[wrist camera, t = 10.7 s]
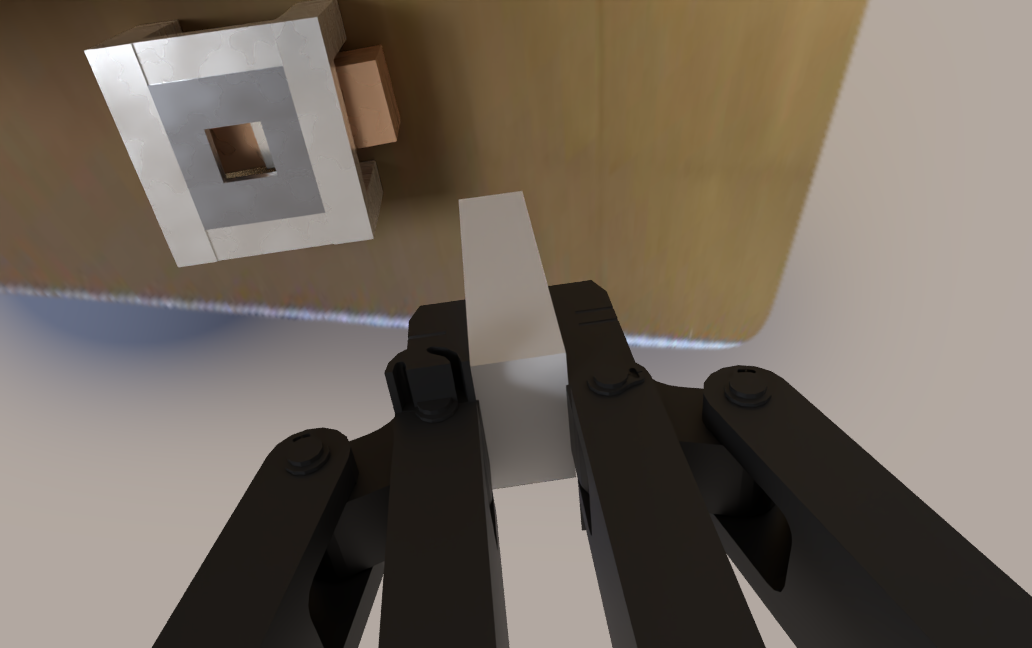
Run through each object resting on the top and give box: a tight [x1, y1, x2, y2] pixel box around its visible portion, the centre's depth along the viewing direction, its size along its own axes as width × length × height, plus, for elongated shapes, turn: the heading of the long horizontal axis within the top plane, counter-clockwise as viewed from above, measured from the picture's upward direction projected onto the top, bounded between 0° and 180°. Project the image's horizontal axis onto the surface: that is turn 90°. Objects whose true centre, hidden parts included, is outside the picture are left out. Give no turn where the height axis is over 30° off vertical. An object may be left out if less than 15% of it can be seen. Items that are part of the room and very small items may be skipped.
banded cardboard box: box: [209, 44, 401, 174], centre depth 36 cm, size 12×4×4 cm, turn 99°
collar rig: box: [84, 0, 383, 267], centre depth 35 cm, size 10×10×6 cm
